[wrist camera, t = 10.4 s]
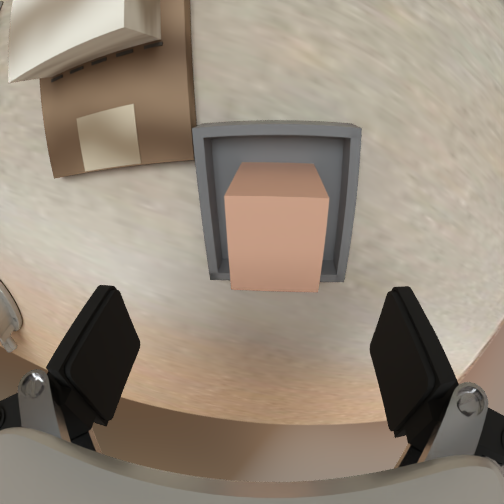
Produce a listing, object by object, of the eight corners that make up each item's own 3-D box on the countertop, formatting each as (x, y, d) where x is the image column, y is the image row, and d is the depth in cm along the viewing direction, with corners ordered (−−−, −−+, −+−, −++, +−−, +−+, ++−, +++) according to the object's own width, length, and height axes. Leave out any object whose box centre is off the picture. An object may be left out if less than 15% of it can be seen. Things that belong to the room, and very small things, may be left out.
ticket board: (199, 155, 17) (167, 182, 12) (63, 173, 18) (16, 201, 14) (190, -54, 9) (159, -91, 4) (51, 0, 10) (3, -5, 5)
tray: (338, 263, 21) (343, 282, 19) (216, 261, 22) (210, 279, 20) (351, 123, 15) (361, 128, 13) (202, 123, 16) (191, 128, 14)
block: (309, 235, 19) (317, 292, 14) (244, 233, 19) (231, 289, 14) (313, 163, 16) (329, 198, 11) (241, 162, 17) (224, 196, 12)
